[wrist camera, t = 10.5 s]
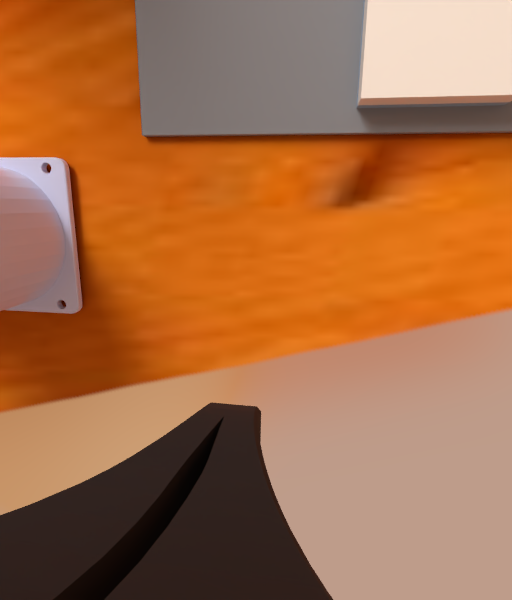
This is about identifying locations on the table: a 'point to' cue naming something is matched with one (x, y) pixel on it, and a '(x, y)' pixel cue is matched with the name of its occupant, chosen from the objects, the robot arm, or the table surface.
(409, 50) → the tile
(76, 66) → the table surface
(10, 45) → the table surface
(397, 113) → the mat
